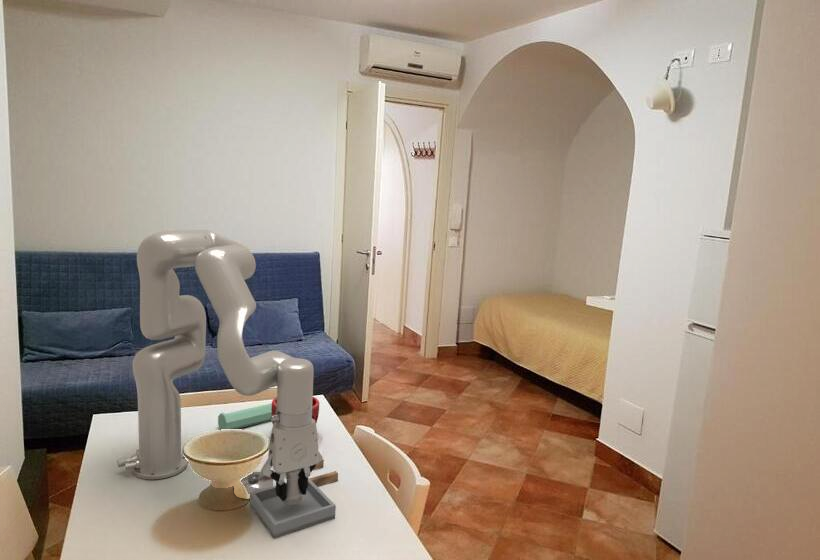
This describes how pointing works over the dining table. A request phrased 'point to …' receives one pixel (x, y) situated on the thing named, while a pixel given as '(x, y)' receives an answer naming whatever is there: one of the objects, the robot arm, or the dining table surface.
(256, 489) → the pulley
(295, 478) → the rook chess piece
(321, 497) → the tray
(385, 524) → the dining table surface
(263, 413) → the mint green rod
